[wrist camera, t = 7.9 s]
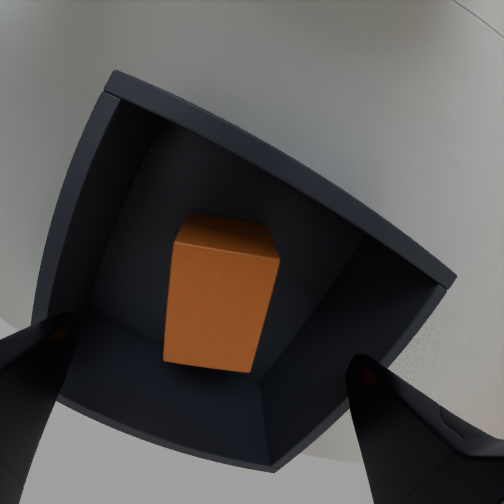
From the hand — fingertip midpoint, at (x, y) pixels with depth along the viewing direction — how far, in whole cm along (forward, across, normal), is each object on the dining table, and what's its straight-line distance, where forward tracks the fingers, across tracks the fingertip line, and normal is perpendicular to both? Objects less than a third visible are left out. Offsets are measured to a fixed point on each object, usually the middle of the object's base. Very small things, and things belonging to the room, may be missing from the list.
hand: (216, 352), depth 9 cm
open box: (+6, 0, 0) cm, 7 cm away
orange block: (+6, 0, 0) cm, 6 cm away
